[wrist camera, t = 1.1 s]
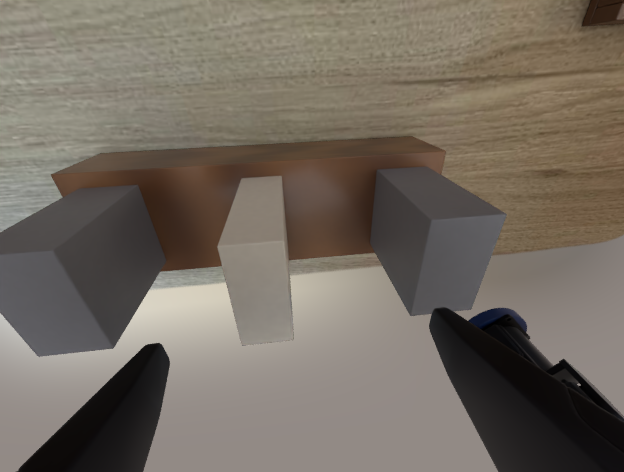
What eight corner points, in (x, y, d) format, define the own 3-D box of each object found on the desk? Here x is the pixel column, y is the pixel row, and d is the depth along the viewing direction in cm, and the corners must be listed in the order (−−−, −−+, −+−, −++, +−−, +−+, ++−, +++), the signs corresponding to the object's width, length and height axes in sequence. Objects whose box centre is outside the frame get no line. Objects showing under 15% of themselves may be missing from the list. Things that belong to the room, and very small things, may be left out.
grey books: (427, 166, 16) (507, 214, 10) (413, 239, 18) (471, 309, 13) (78, 188, 14) (-48, 258, 9) (116, 265, 17) (37, 357, 11)
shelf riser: (412, 136, 19) (446, 150, 15) (399, 219, 23) (425, 248, 19) (100, 153, 18) (49, 174, 14) (136, 240, 21) (105, 276, 17)
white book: (281, 175, 15) (284, 240, 9) (288, 250, 18) (293, 340, 12) (241, 177, 15) (216, 246, 9) (254, 253, 17) (241, 346, 11)
